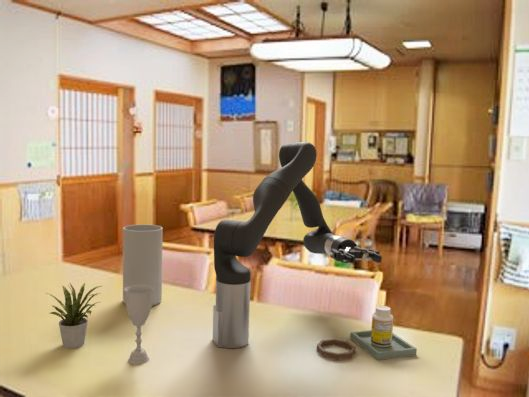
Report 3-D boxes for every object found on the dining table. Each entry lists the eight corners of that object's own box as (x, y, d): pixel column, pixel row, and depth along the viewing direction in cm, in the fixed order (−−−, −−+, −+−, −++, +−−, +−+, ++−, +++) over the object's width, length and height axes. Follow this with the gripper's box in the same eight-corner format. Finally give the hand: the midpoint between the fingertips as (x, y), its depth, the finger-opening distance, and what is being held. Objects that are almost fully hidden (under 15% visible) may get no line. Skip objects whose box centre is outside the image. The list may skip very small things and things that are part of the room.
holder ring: (327, 361, 124) (328, 355, 124) (311, 346, 133) (312, 340, 133) (361, 357, 127) (361, 351, 127) (343, 342, 136) (343, 337, 136)
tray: (377, 360, 126) (378, 353, 126) (350, 338, 140) (350, 332, 140) (416, 355, 130) (416, 348, 130) (385, 334, 144) (385, 328, 143)
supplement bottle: (376, 338, 139) (378, 303, 138) (395, 343, 135) (397, 307, 134) (367, 344, 134) (369, 307, 133) (385, 350, 131) (388, 312, 130)
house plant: (118, 339, 133) (118, 280, 131) (83, 359, 120) (83, 294, 118) (74, 330, 138) (74, 273, 136) (37, 349, 125) (36, 287, 123)
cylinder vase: (169, 300, 166) (170, 227, 163) (141, 310, 156) (142, 232, 153) (143, 293, 173) (143, 223, 170) (114, 302, 162) (114, 227, 159)
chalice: (145, 367, 117) (145, 294, 115) (118, 364, 118) (118, 291, 116) (157, 355, 124) (158, 285, 122) (132, 352, 126) (133, 283, 123)
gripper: (321, 237, 154) (346, 247, 139) (361, 236, 159) (389, 246, 144) (319, 260, 155) (344, 273, 140) (359, 259, 160) (387, 271, 144)
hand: (367, 259), depth 142 cm, fingers open, 8 cm apart
